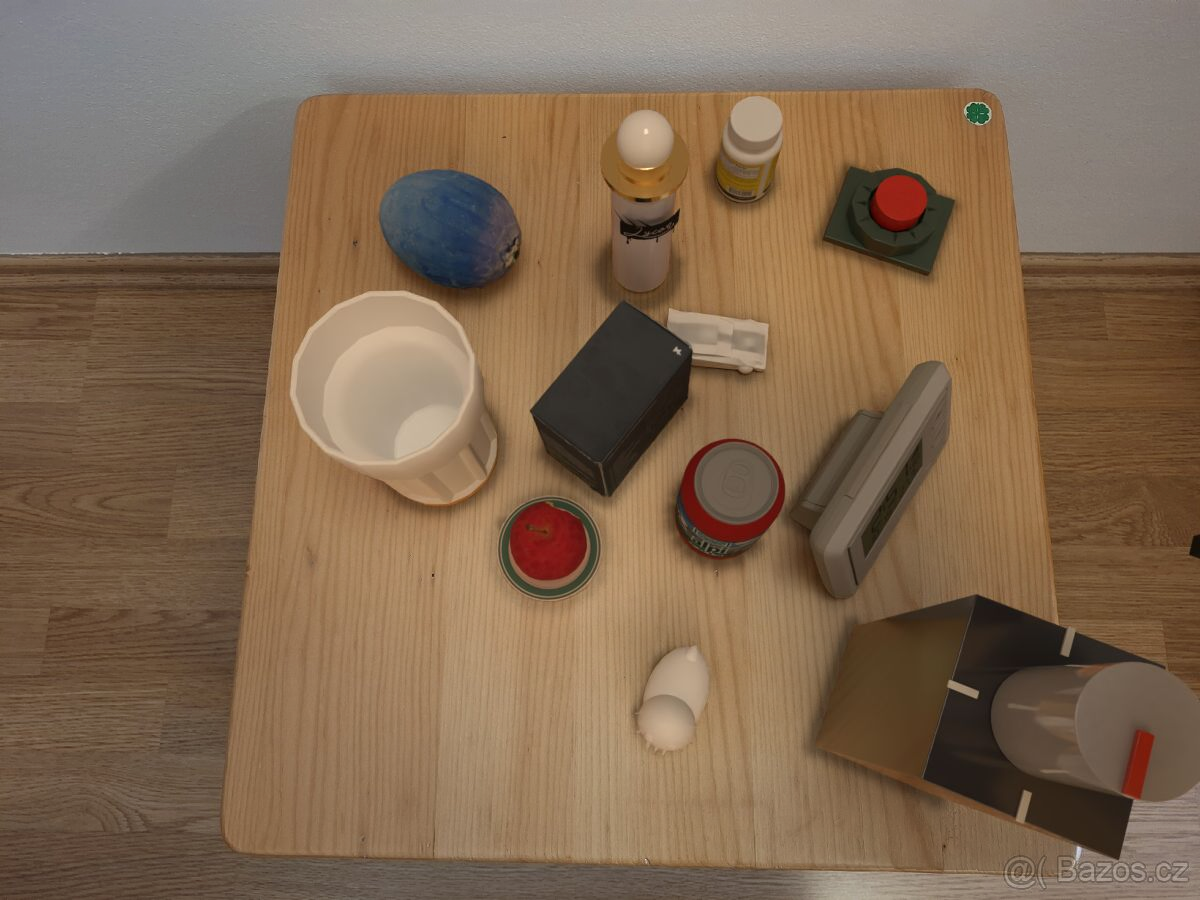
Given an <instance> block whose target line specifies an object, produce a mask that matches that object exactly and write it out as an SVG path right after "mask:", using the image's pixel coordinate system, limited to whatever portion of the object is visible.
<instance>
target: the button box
mask: <svg viewBox="0 0 1200 900" xmlns="http://www.w3.org/2000/svg"><path fill="white" fill-rule="evenodd" d="M896 175H903V176H908V177H911V178H913V179H915V180H917V181H918V182H919V183H920V184H921V185H922V186H923V188H924V189H925V191H926V194H927V204H926V207H925V209H924V211H923V213H922V214H921V216H920V217H919V219H918V221H917V222H916V223H915V224H914V225H913V226H912V227H910V228H908V229H906V230H903V231H891V230H888V229H885V228H883V227H881V226H880V225H879V224H878V223H877V222H876V221H875V220H874V218H873V216H872V214H871V210H870V205H871V201H872V198H873V196H874V194H875V192H876V190H877V188H878V187H879V185H880V184H881V183H882V182H883V181H884V180H885V179H887V178H889V177H892V176H896ZM955 203H956V200H955V199H954V198H949V197H947V196H944V195H941V194H938V193H937V190H936V189H935V188H934V187H933V185H931V184H930V183H929V181H927V180H926V179H925V177H923V176H922V175H921V174H920V173H919V174H918V173H915V172H913V171H909V170H907V169H904V168H900V167H893V168H886V169H879V170H875V171H873V172H871V171H868V170H865V169H863V168H858V167H856V166H854V165H850V167H849V169H848V170H847V174H846V176H845V179H844V182H843V185H842V188H841V190H840V193H839V195H838V198H837V200H836V202H835V206H834V209H833V211H832V214H831V216H830V219H829V221H828V224H827V227H826V229H825V232H824V234H823V237H822V240H823V241H825V242H828V243H831V244H835V245H837V246H840V247H843V248H845V249H848V250H852V251H855V252H858V253H860V254H863V255H866V256H868V257H873V258H875V259H878V260H881V261H884V262H886V263H890V264H893V265H896V266H899V267H901V268H904V269H908V270H910V271H914V272H916V273H919V274H922V275H924V276H929V275H930V274H931V273H932V270H933V268H934V264H935V261H936V258H937V256H938V253H939V250H940V246H941V244H942V242H943V241H942V240H943V237H944V235H945V232H946V229H947V226H948V224H949V220H950V218H951V215H952V211H953V209H954V206H955Z"/></svg>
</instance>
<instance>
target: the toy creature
mask: <svg viewBox="0 0 1200 900" xmlns="http://www.w3.org/2000/svg"><path fill="white" fill-rule="evenodd" d="M709 667H710V666H709V663H708V661H707V659H706V657H705V656H704V654H703V653H702V652H701V651H700V650H699V648H698V645H697V644H695V645H693V646H687V645H682V646H680V647H676V648H673V649H672V650H670V651H669V652H668V653H666V654H665V655H664V656H663V657H662V658H661V659H660V660H659V662H658V663H657V664H656V665H655V667H654V668H653V670H652V672H651V674H650V676H649V677H648V680H647V682H646V686H645V688H644V692H643V695H642V705H641V707H640V709H639V711H636V712H633V713H632V715H637V725H638V729H637V730H636V731H635V732H634V733H633V734H634V735H635V734H641V736H642V737H643V739H644V740H645V741H646V742H645V748H644V752H646V751H647V750H648V749H649V747H650V746H652V747H653V753H652V754H653V756H654V755H655V754H656V752H657V751H658V750H661V755H660V759H662V758H663V757H664V755H665V754H666V753H667V752H673V751H678V750H680V751H681V752H683V748H685V747H686V746H687V745H689V744H691V745H694V743H693V741H692V740H693V738H694V737H695V734H696V729H697V724H698V722H699V720H700V718H701V716H702V714H703V713H704V710H705V709H706V705H707V701H708V698H709V695H710V689H711V673H710V668H709Z"/></svg>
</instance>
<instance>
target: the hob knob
mask: <svg viewBox="0 0 1200 900" xmlns="http://www.w3.org/2000/svg"><path fill="white" fill-rule="evenodd" d="M991 725H992V730H993V734H994V737H995V739H996V742H997V744H998V746H999V747H1000V749H1001V751H1002V752H1003V754H1004V755H1005V756H1006V757H1007V759H1008V760H1009V761H1010V762H1011V763H1012V764H1013V765H1015V766H1016V767H1017V768H1018V769H1020V770H1021V771H1023V772H1025V773H1027V774H1029V775H1031V776H1033V777H1036V778H1039V779H1044V780H1048V781H1053V782H1057V783H1061V784H1066V785H1070V786H1075V787H1079V788H1084V789H1088V790H1093V791H1097V792H1102V793H1106V794H1110V795H1115V796H1119V797H1124V798H1128V799H1133V800H1134V801H1137V802H1143V803H1165V802H1168V801H1172V800H1175V799H1178V798H1180V797H1182V796H1183V795H1185V794H1187V793H1188V792H1190V791H1191V790H1192V789H1194V788H1195V787H1196V786H1197V785H1198V783H1199V782H1200V699H1199V698H1198V696H1197V695H1196V693H1195V692H1194V691H1193V690H1192V689H1191V688H1190V686H1188V685H1187V684H1186V683H1185V681H1183V680H1182V679H1180V678H1179V676H1176V675H1175V674H1173V673H1172V672H1171V671H1168V670H1167V669H1166V668H1165V669H1162V668H1160V667H1158V666H1155V665H1152V664H1148V663H1142V662H1114V663H1093V664H1072V665H1051V666H1034V667H1028V668H1024V669H1021V670H1019V671H1017V672H1015V673H1013V674H1012V675H1010V676H1009V677H1008V678H1007V679H1006V680H1005V681H1004V682H1003V683H1002V684H1001V685H1000V687H999V688H998V690H997V692H996V694H995V696H994V699H993V702H992V707H991Z"/></svg>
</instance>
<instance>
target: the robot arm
mask: <svg viewBox="0 0 1200 900" xmlns="http://www.w3.org/2000/svg"><path fill="white" fill-rule="evenodd" d="M1188 556H1191V557H1193V558H1196V559H1199V560H1200V533H1199V534H1196V535H1193V536H1192V539H1191V544H1190V549H1189V552H1188Z"/></svg>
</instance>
